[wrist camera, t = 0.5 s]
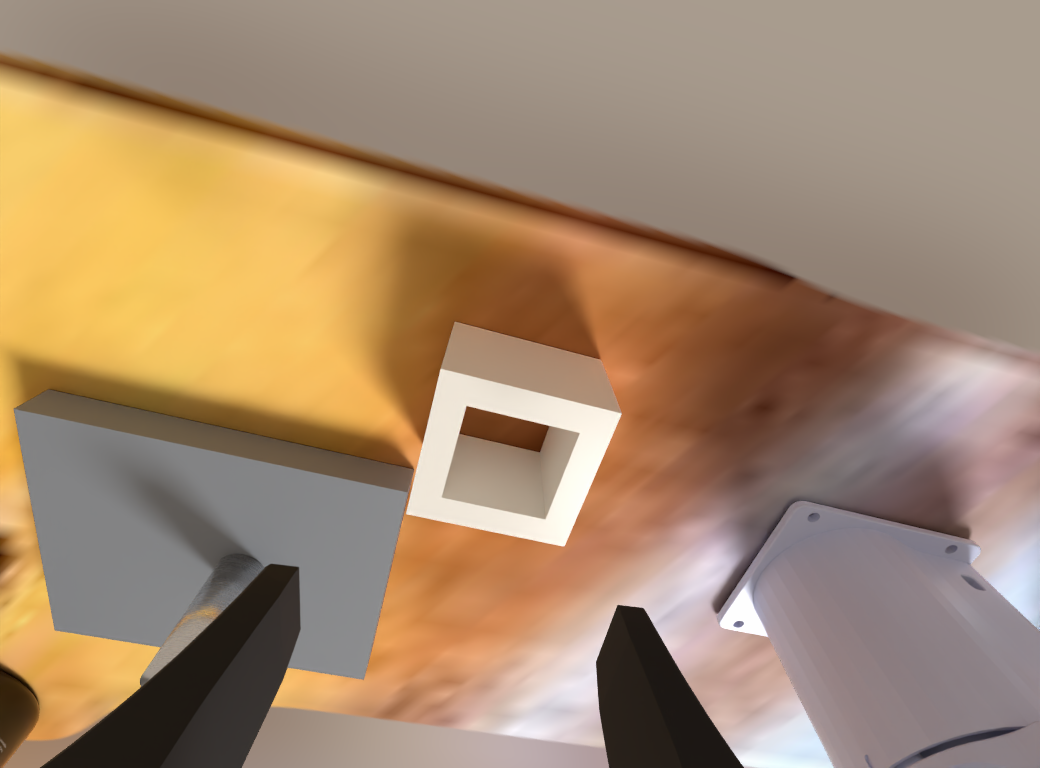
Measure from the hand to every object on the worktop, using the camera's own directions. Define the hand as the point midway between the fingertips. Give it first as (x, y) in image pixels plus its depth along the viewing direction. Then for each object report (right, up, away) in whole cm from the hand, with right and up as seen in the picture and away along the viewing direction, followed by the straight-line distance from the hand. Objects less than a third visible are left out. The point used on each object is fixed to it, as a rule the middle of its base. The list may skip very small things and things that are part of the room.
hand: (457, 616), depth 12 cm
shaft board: (-11, -2, +11) cm, 16 cm away
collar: (+1, +4, +8) cm, 9 cm away
